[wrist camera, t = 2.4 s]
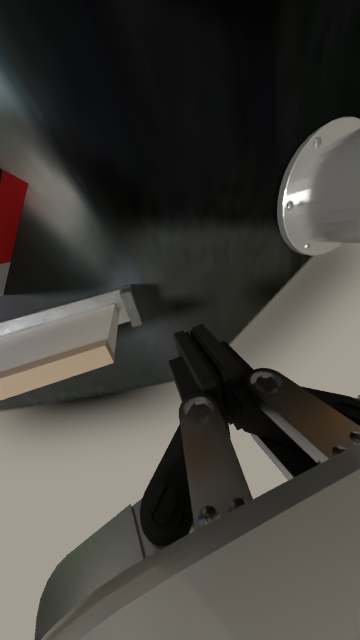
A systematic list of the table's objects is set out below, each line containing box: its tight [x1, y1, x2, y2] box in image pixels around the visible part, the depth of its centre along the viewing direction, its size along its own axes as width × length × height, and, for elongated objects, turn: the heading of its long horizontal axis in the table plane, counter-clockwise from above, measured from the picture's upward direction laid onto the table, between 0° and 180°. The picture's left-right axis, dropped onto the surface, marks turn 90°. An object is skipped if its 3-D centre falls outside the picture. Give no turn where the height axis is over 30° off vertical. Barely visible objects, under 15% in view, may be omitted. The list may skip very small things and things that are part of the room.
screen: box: [0, 304, 119, 400], centre depth 14 cm, size 12×1×8 cm, turn 102°
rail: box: [0, 284, 142, 337], centre depth 17 cm, size 26×4×3 cm, turn 102°
